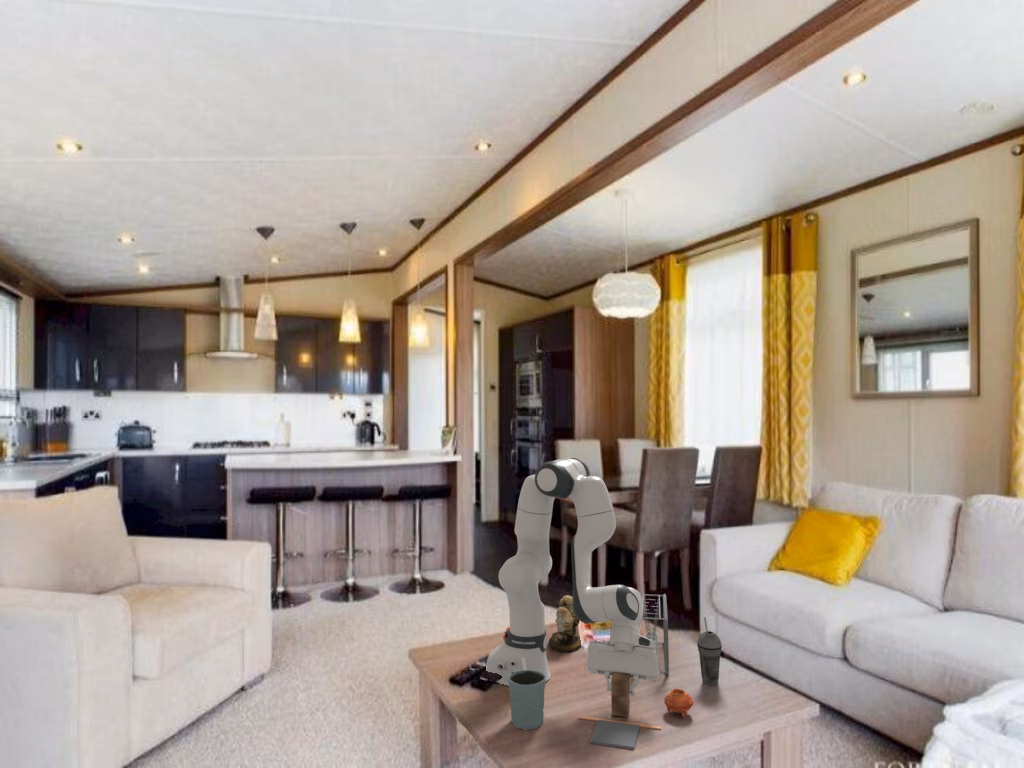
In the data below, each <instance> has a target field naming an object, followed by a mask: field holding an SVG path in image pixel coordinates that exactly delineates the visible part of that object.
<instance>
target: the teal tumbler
mask: <svg viewBox="0 0 1024 768" xmlns="http://www.w3.org/2000/svg"><path fill="white" fill-rule="evenodd" d="M508 680H509V686H508V688H509V694H510V695H509V701H510V702H509V703H510V713H511V714H510V715H511V716H510V717H511V723H513V724H514V725H515V726H516V727H515V726H514V725H513V724H512V725H513V726H514V727H515V728H517V727H518V728H517V729H519V728H521V729H520V730H524V729H531V730H535V729H538V728H539V727H541V726H543V723H544V716H545V714H544V713H545V712H544V707H545V689H546V682H545V680H546V677H545V675H544V674H543V673H541V672H538V671H533V670H521V671H517V672H514V673H512V674H510V675H509V677H508Z"/></svg>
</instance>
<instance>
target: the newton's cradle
mask: <svg viewBox="0 0 1024 768" xmlns="http://www.w3.org/2000/svg"><path fill="white" fill-rule="evenodd" d="M640 595H641V598H642V608H643V614H642V620H644V624H645V629H646V636H645V638H648V639H650V640H652V641H654V644H655V647H656V654H657V656H658V655H659V654H658V644H663V650H664V651H663V653H664V655H663V656H664V671H663V670H659V673H660V674H661V673H663V674H666V676H667V675H669V674H670V669H669V668H670V666H669V665H670V662H669V661H670V659H669V655H670V654H669V618H668V617H669V616H668V603H667V595H666V593H664V594H647V593H646V594H643V593H642V594H641V593H640ZM644 596H646V597H647V596H648V597H658V602H656V606H655V605H652V607H654V608H655V607H656V609H655V613H652V612H647V611H648V609H647V605H646V603H647V604H648V602H646V601H645V598H644ZM661 597H662V617H661ZM648 600H650V601H655V598H654V599H651V598H648V599H647V601H648ZM648 614H649V615H650V614H651V615H654V617H648ZM649 620H654V621H653V626H652V630H651V625H650V621H649ZM659 620H661V621H663V622H662V623H663V625H662V626H663V642H661V641H658V635H657V626H658V621H659Z"/></svg>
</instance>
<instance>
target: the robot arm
mask: <svg viewBox="0 0 1024 768" xmlns="http://www.w3.org/2000/svg"><path fill="white" fill-rule="evenodd" d="M556 498H558V499H564V500H565V499H568V498H569V499H571V500H572V502H573V505H574V508H575V512H576V517H577V529H576V533H575V535H573V536H572V540H571V548H570V549H571V570H572V571H571V574H572V597H573V598H572V608H573V612H574V614H575V616H576V617H577V618H578V619H579V620H580V622H582V623H583V624H585V625H588V624H593V623H598V622H605V621H609V622H610V621H612V626H611V628H610V633H609V634H610V635H609V641H608V640H598V639H595V640H593V641H591V642H589V644H588V648H587V652H588V656H587V659H586V669H587V671H588V672H589V673H590V674H596V675H604V679H605V681H606V684H607V685H606V691H608V692H611V682H610V680H611V677H612V675H613V672H617V673H625V674H630V679H633V682H632V684H630V685H629V686H628V688H629V689H628V693H630V695H634V694H635V688H636V687H637V686H638V684H639V683H640V680H642V681H643V680H645V681H652V682H657V681H658V680H659V677H660V672H659V671H660V670H659V669H660V668H659V667H660V666H659V659H658V655H657V654H656V647H655V644H654V641H652V640H650V639H648V638H646V636H644V635H642V632H641V626H642V623H643V619H642V614H643V613H644V611H643V609H644V607H643V608H642V595H640V594H641V592H639V591H638V590H637V589H635V588H633V587H630V586H626V585H624V584H611V585H606V586H597V587H596V586H594V587H593V586H591V583H590V568H589V567H590V566H589V563H590V562H589V560H590V556H591V554H592V552H593V551H594V550H595V549H597V548H599V547H600V546H602V545H603V544H605V543H606V542H608V541H609V540H610V539H612V536H613V535H614V533H615V531H616V528H617V523H616V522H617V521H616V514H615V511H614V505H613V503H612V500H611V496H610V493H609V490H608V488H607V486H606V483H605V482H604V480H603V478H601V477H599V476H595V475H591V472H590V468H589V466H588V465H587V464H586V462H584V461H583V460H581V459H579V458H575V457H569V458H568V457H567V458H565V457H564V458H558V459H556V460H551V461H546V462H544V463H543V464H541V465H540V466H539V467H538V468H537V470H536V472H535V473H534V474H532V475H528V476H527V477H526V478H525V479H524V482H523V483H522V486H521V490H520V494H519V497H518V501H517V502H518V503H517V509H516V516H515V524H514V534H515V535H516V539H517V541H516V542H517V550H516V554H515V555H514V556H512V557H510V558H508V559H506V561H505V562H504V563H503V565H502V566H501V568H500V569H499V572H498V582H499V584H500V586H501V587H502V589H503V590H504V591H505V594H506V595H505V596H506V598H507V601H508V609H509V611H508V612H509V626H508V627H506V630H505V631H504V634H503V635H502V639H503V640H504V641H503V642H501V643H500V644H498V645H497V646H496V647H495V648H493V650H492V651H491V652H490V653H489V655H488V656H487V660H486V664H487V665H486V664H485V665H486V671H488V672H492V673H497V674H499V675H501V676H502V678H501V679H500V680H499V683H500V684H499V685H502V684H504V685H503V686H506V685H507V686H506V687H509V680H508V677H509V675H510V674H512V673H514V672H517V671H521V670H533V671H538V672H541V673H543V674H544V675H545V677H546V680H545V683H546V682H547V681H548V680H550V679H551V677H552V676H551V675H552V674H551V672H550V668H549V664H548V658H547V645H548V641H547V640H548V639H547V630H546V627H545V626H546V624H545V622H546V621H545V616H546V615H545V605H544V603H543V602H542V601H541V598H540V594H539V593H540V592H539V583H540V582H542V581H543V580H545V579H546V578H547V576H548V575H549V574H550V572H551V570H552V567H553V559H552V556H551V554H550V531H551V524H552V523H551V522H552V517H553V510H554V509H553V508H554V501H555V499H556Z"/></svg>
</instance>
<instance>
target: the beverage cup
mask: <svg viewBox="0 0 1024 768" xmlns="http://www.w3.org/2000/svg"><path fill="white" fill-rule="evenodd" d="M703 620H704V626H705V628H704V629H705V631H703V632H702V633H700V635H699V636H698V640H697V650H698V653H699V663H700V664H699V665H700V670H701V671H700V672H701V679H702V684H703V685H704V686H706V687H710V688H711V687H714V688H715V687H717V686H718V685H719V678H720V661H721V652H722V648H723V645H722V641H721V638H720V637H719V636H718V634H717V633H715V632H713V631H711V630H710V631H709V630H708V625H707V618H706V616H704V617H703Z"/></svg>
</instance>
